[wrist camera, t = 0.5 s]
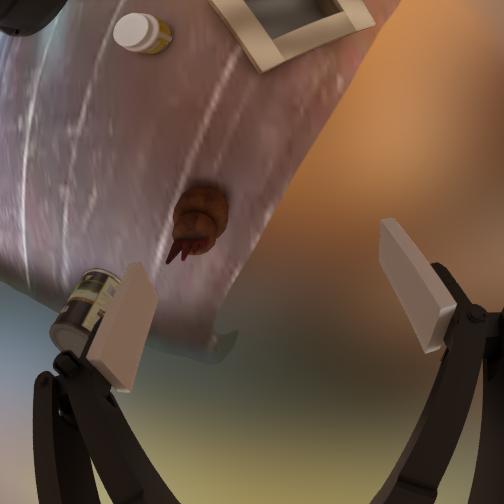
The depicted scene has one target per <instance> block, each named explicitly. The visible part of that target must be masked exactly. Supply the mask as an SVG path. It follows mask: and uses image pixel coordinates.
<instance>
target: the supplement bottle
mask: <svg viewBox="0 0 504 504" xmlns="http://www.w3.org/2000/svg"><path fill="white" fill-rule="evenodd" d="M113 35H114V39H115V41H116V42H117V43H118V44H119V45H121V46H123V47H124V48H125V49H127V50H129V51H133V52H140V53H146V54H157V53H160V52H162V51H164V50H165V49H166V48H167V47H168V46H169V45H170V43H171V41H172V37H173V33H172V29H171V27H170V26H169V25H168V24H166V23H165V22H163V21H161V20H159V19H158V18H156V17H154V16H152V15H150V14H144V13H142V14H139V13H131V14H128V15H125V16H124V17H122V18H121V19H120V20H119V21H118V22H117V24H116V26H115V28H114V32H113Z"/></svg>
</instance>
